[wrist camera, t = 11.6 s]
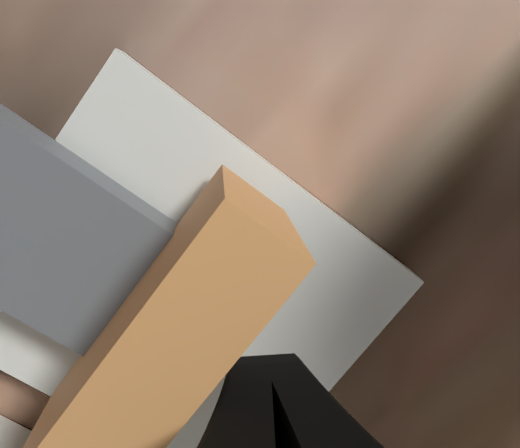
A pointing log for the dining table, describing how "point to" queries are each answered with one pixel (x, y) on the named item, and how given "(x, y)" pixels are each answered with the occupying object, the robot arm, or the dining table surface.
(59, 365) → the vise base
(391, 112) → the dining table surface
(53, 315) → the sliding jaw
